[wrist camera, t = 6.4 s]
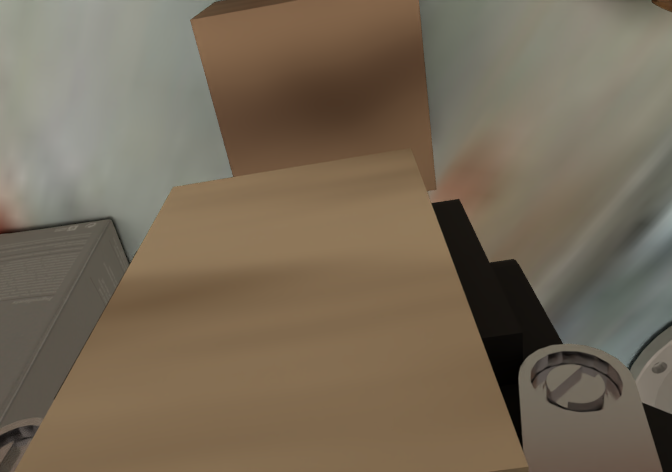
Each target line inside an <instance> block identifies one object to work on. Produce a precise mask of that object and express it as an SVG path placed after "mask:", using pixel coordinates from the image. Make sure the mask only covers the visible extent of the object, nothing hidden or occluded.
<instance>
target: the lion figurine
mask: <svg viewBox="0 0 672 472" xmlns="http://www.w3.org/2000/svg"><path fill="white" fill-rule="evenodd" d="M651 1H652V2H653V3H654V4H655V5H657V6H659V7H661V8H663V9H665V10H668V11H670V12H672V0H651Z"/></svg>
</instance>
